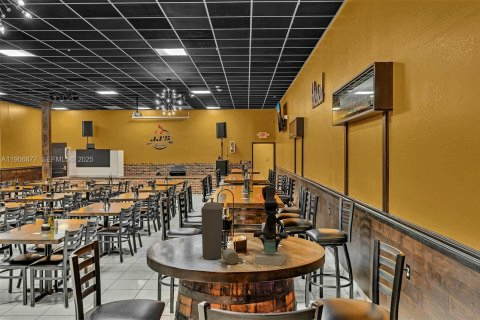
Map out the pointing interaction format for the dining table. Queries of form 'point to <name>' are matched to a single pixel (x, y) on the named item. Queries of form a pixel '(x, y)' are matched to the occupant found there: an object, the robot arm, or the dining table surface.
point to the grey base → (270, 258)
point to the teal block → (270, 246)
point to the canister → (211, 230)
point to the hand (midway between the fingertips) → (270, 250)
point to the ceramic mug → (231, 256)
